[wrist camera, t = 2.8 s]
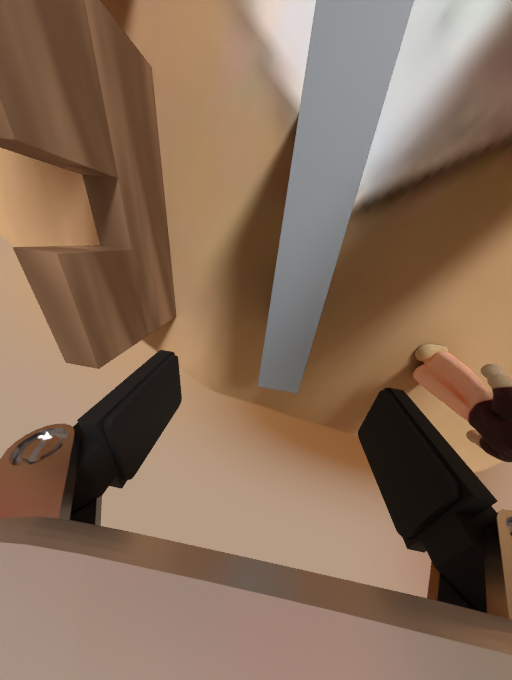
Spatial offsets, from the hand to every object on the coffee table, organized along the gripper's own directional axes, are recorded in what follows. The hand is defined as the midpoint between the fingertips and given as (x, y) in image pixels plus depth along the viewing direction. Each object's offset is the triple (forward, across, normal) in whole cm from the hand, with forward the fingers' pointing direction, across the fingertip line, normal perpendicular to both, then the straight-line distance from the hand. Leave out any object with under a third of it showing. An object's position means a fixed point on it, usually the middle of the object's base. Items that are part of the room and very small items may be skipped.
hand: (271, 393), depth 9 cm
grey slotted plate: (+12, -1, -7) cm, 14 cm away
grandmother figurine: (+12, -17, +3) cm, 21 cm away
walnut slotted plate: (+12, +12, -7) cm, 18 cm away
